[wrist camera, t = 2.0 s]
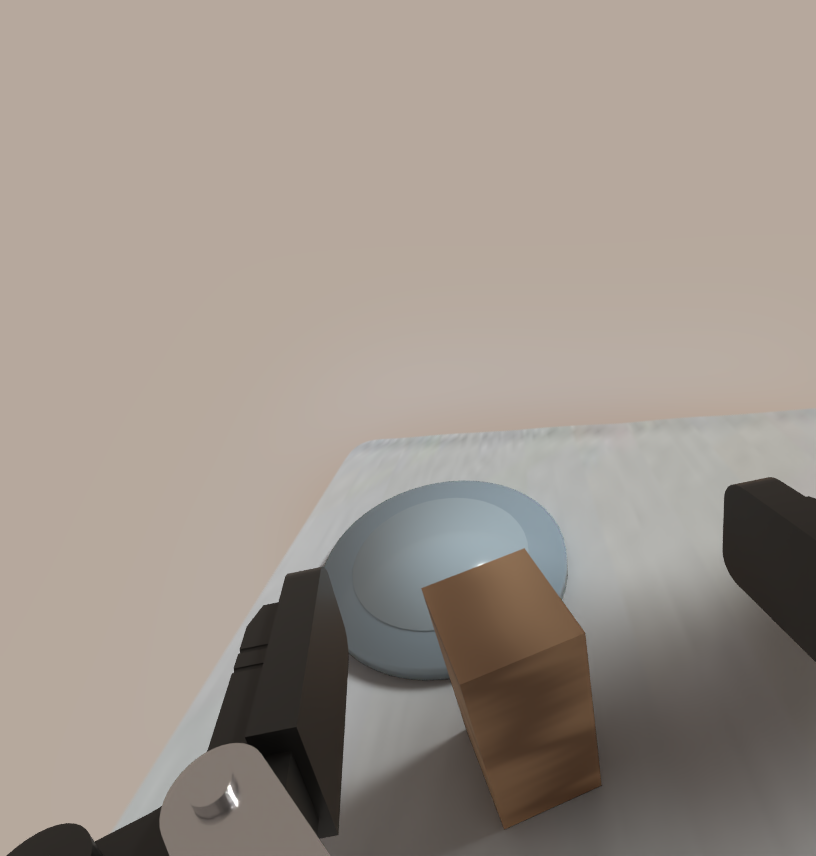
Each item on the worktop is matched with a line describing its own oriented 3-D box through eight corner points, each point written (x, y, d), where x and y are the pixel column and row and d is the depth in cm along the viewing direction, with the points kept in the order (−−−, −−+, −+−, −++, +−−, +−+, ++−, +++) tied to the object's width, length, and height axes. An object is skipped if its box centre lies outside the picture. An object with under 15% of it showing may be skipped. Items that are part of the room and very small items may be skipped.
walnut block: (549, 693, 29) (524, 548, 24) (601, 785, 25) (584, 632, 19) (466, 729, 28) (421, 588, 23) (504, 829, 24) (459, 684, 19)
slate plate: (557, 483, 44) (556, 470, 43) (581, 681, 29) (580, 666, 28) (358, 500, 49) (354, 488, 48) (290, 678, 34) (283, 665, 33)
